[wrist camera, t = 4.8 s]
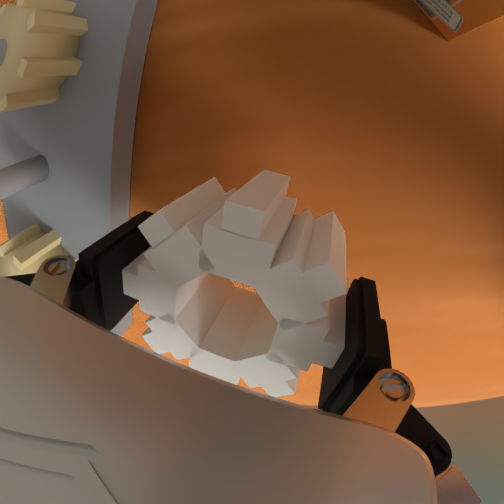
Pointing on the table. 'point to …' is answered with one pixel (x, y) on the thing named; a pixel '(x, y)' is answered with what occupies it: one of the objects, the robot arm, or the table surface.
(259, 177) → the idler gear
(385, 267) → the table surface
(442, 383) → the table surface
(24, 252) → the gear board
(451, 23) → the milk carton
